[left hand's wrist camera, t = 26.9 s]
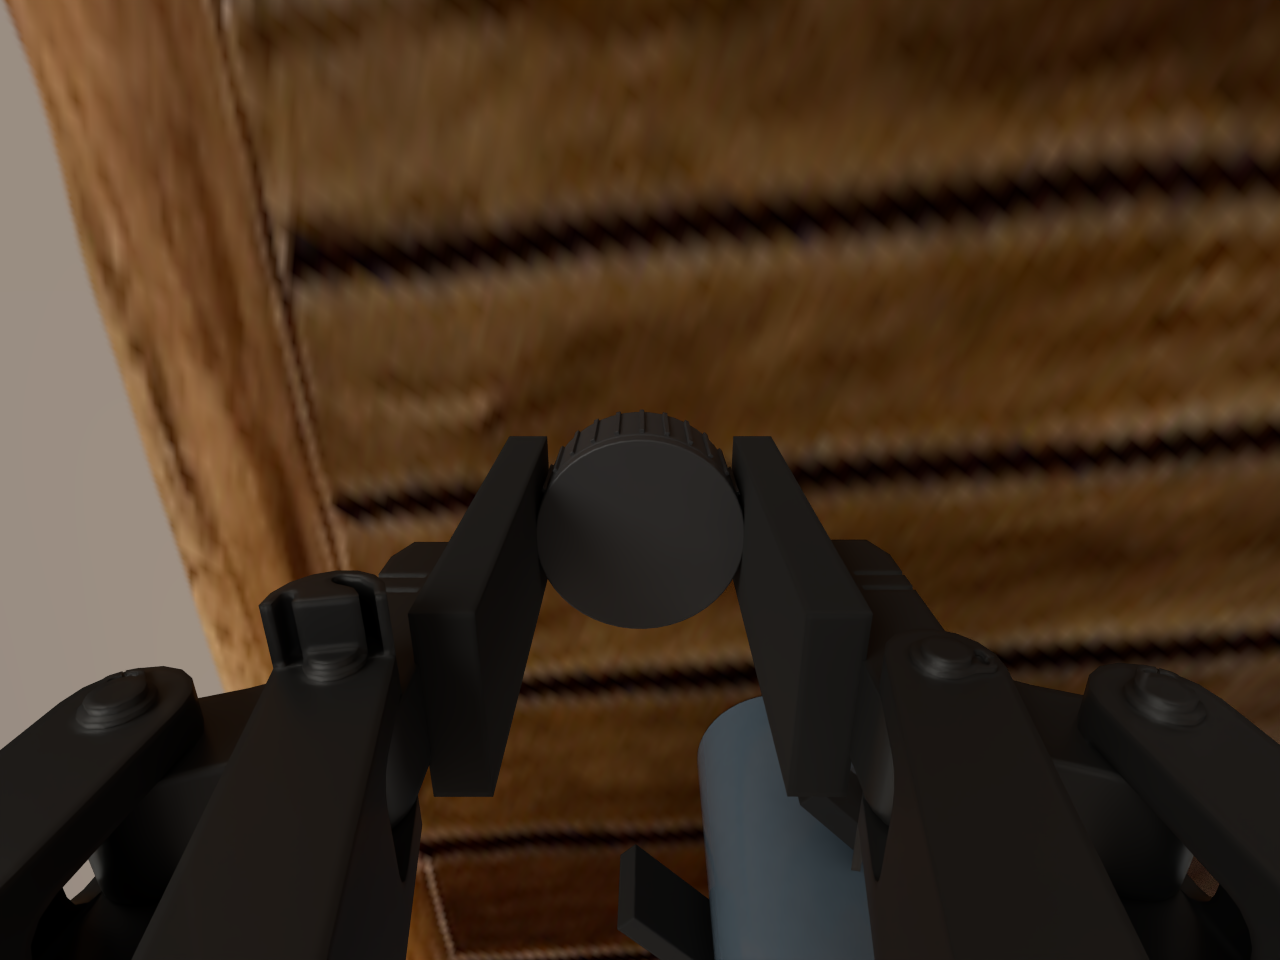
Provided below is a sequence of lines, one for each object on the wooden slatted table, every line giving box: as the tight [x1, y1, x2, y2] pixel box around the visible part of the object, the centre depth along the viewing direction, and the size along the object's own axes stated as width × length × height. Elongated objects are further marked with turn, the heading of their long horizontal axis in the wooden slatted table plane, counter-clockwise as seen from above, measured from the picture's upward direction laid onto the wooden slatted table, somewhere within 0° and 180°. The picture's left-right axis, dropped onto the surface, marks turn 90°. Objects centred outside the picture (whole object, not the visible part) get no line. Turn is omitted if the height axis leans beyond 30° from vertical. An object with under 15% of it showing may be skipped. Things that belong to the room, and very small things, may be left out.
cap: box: [536, 410, 744, 629], centre depth 13 cm, size 4×4×2 cm
